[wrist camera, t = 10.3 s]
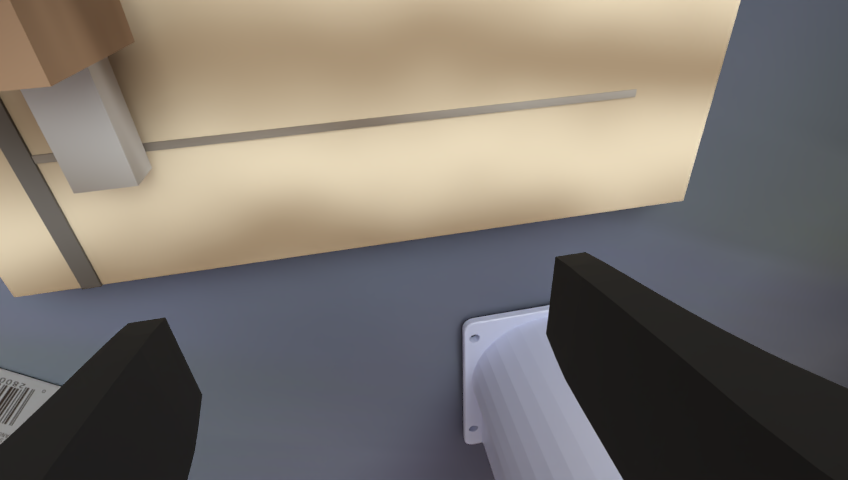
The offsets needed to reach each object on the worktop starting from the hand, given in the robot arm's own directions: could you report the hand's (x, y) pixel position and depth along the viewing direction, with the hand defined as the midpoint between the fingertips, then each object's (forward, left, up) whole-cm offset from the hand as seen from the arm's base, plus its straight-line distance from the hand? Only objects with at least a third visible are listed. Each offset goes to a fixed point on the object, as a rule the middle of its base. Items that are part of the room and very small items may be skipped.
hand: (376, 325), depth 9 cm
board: (+3, 0, -9) cm, 10 cm away
